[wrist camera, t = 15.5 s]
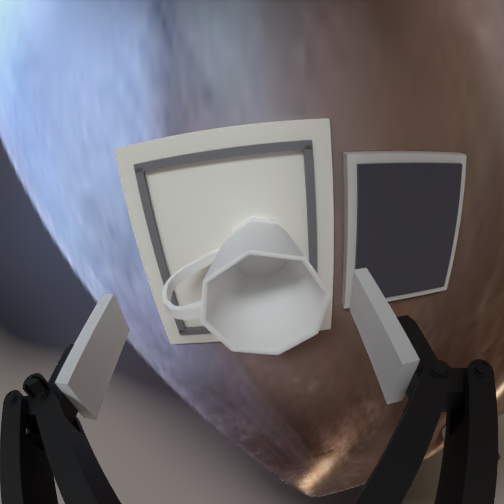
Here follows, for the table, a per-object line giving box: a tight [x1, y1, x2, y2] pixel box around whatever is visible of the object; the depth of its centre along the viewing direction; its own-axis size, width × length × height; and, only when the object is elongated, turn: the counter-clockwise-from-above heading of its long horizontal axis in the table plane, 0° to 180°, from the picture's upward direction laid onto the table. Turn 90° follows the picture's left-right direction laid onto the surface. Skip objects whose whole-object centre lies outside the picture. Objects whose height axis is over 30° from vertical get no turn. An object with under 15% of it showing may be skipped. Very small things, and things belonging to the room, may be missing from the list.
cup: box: [162, 216, 332, 355], centre depth 19 cm, size 7×10×8 cm
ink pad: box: [341, 151, 466, 309], centre depth 22 cm, size 13×11×1 cm
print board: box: [114, 118, 334, 344], centre depth 23 cm, size 18×15×1 cm
